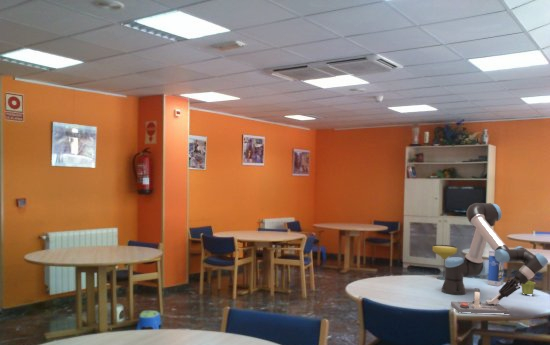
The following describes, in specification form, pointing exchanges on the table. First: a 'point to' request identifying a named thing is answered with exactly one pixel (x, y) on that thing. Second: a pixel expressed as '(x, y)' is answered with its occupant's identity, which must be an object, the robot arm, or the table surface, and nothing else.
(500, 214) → the robot arm
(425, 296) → the table surface
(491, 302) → the rocker
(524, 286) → the plant pot
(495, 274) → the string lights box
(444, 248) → the cocktail glass
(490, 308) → the panel
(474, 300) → the black lever
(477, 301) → the cream tapered knob
